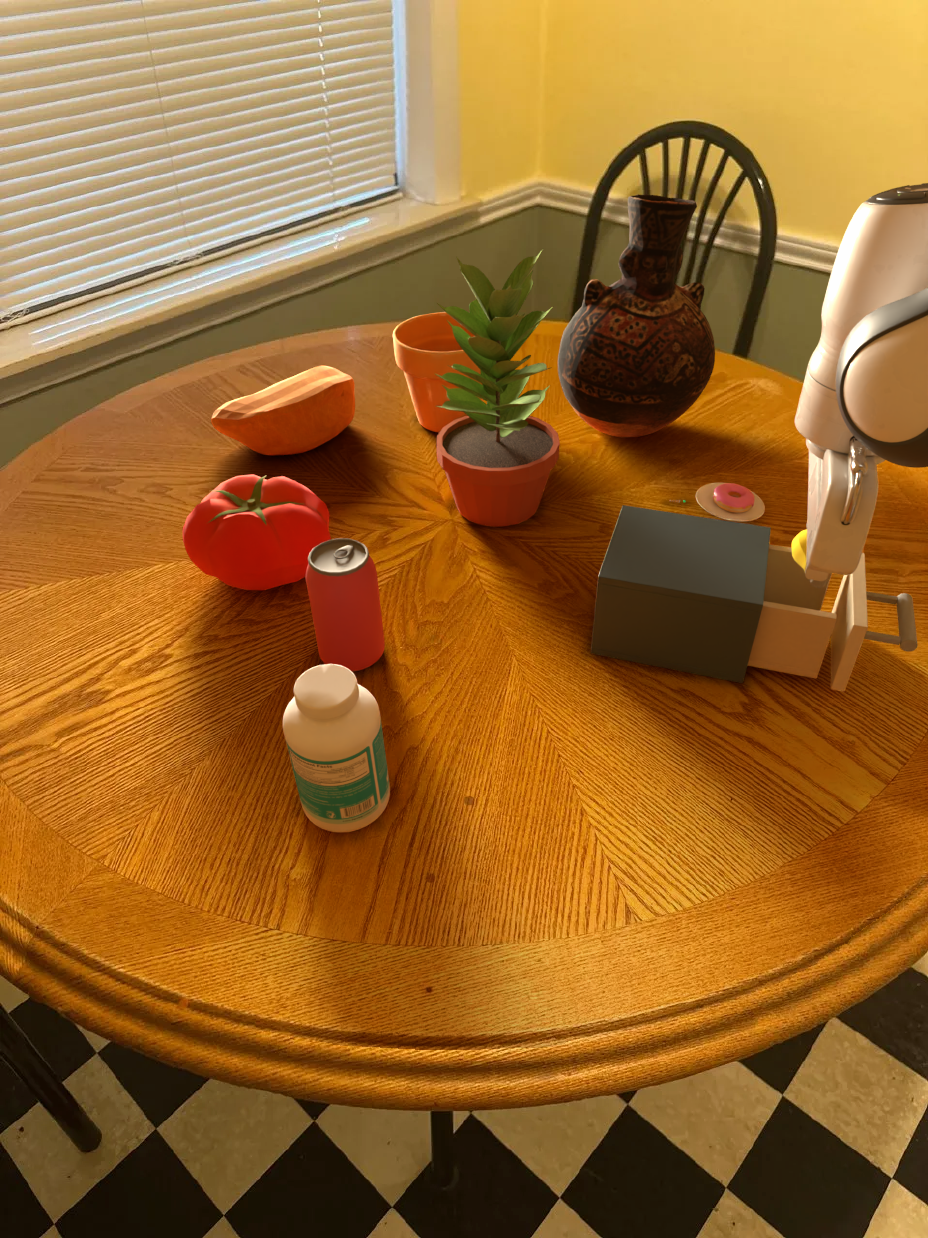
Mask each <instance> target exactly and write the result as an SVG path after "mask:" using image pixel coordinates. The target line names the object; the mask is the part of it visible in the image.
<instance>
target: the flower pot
mask: <svg viewBox="0 0 928 1238" xmlns="http://www.w3.org/2000/svg"><path fill="white" fill-rule="evenodd" d="M447 320H448V321H449V322H450V323H451V324H452V325H453V326H458V327H460V328H462V329H463V330H464V331H465V332H466V333H468V334H469V335H470V336H471V337H474V336H475V335H473V334H472V333H471V332H470V331H468V330H467V329H466V328H465V327H463V326H462V325H461V324H460V323H458V322H457V321H456V320H455V319H453V318H452V317H451V316H450V315H448V314H447V313H446V312H445V311H442V312H432V313H425V314H420V315H416V316H413V317H410V318H408V319H406V320H404V321H402V322H400V323H399V324H398V325H397V326H396V327H395V328H394V330H393V332H392V342H393V351H394V359H395V363H396V365H397V367H398V368H399V369H400V370H401V371H403V374H404V377H405V380H406V384H407V388H408V391H409V395H410V398H411V402H412V405H413V407H414V411H415V414H416V417H417V420H418V423H419V424H420V425H421V426H422V427H423V428H424V429H426V430H428V431H431V432H435V433H438V434H439V433H440V431H441V430H442V428H443V427H445V426H446V425H448V424H449V423H451V422H452V421H454V420H456V419H459V418H461V417H464V416H467V415H466V414H465V413H464V412H461V411H454V410H448V409H445V408H440V407H435V406H442V405H443V403H444V402H446V401H450V400H449V398H448V397H447V391H446V389H445V388H444V387H443V386H442V385H444V386H445V387H447V388H449V389H452V388H459V387H457V386H455V385H453V384H451V383H449V382H447V381H445V380H444V379H442V378H440V377H439V376H437V375H440V376H442V375H444V374H446V373H450V372H452V373H457V374H460V375H464V376H466V377H468V378H470V379H472V380H475V379H473V378H471V377H469V376H467V375H465V374H463V373H461V372H459V371H457V370H455V369H453V368H451V367H452V365H453V364H460V365H463V366H465V367H468V368H470V369H472V370H474V371H476V372H478V373H479V374H481V373H480V369H479V368H478V367H477V366H476V365H475V364H474V362H473V361H472V360H471V359H470V358H469V357H468V355H467V354H466V353H465V352H464V351H463V349H462V348H461V347H460V345H459V344H458V343H457V341H456V339H455V337H454V334H453V330H452V327H451V326H450V324H449V323H448V322H447ZM447 365H449V366H451V367H449V366H447ZM434 373H435V374H437V375H435V374H434ZM475 381H476V380H475ZM476 382H478V381H476ZM478 383H480V382H478ZM480 384H482V383H480ZM478 398H479V397H478ZM479 399H481V398H479ZM481 400H482V401H483V402H484V400H483V399H481Z"/></svg>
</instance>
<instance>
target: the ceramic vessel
mask: <svg viewBox="0 0 928 1238" xmlns="http://www.w3.org/2000/svg"><path fill="white" fill-rule="evenodd" d="M697 207H698V204H697V201H695V200H692V199H685V198H684V199H683V198H678V197H668V196H662V195H658V194H648V193H647V194H646V193H645V194H644V193H643V194H639V193H638V194H635V195H629V196H628V197H627V213H628V221H629V222H628V223H629V235H628V237H629V238H628V239H629V240H628V244H627V246H626V247H625V248H624V250H623V251H622V252H621V254H620V256H619V259H618V269H619V270H620V273H621V277H620V279H618V280H617V281H615V282H613V283H612V284H610V285H606V284H604V283H603V282H602V281H601V280H600V279H596V278H592V279H590V280H589V281H588V282H587V284H586V286H585V288H584V292H583V300H582V304H581V307H580V308H579V309H578V310H577V311H576V312H575V313H574V315H573V316H572V318H571V319H570V321H569V322H568V323H567V325H566V327H565V328H564V330H563V331H562V335H561V339H560V343H559V350H558V355H557V375H558V379H559V383H560V387H561V390H562V393H563V395H564V398H565V399H566V400H567V402H568V403H569V405H570V406H571V408H572V409H573V411H574V412H575V413H576V414H577V416H578V417H579V418H580V419H581V420H582V421H583V422H584V423H586V424H587V425H588V426H589V427H590V428H593V429H594V430H596V431H597V432H600V433H602V434H605V435H609V436H612V437H616V438H639V437H645V436H647V435H651V434H654V433H656V432H658V431H660V430H662V429H664V428H665V427H667V426H669V425H670V424H672V423H673V422H676V420H677V419H679V418H680V417H681V416H683V415H684V414H685V413H686V412H687V411H688V410H689V409H690V408H691V407H692V406H693V405H694V404H695V403H696V402H697V400H698V399H699V398H700V397H701V395H702V393H703V391H704V390H705V388H706V387H707V385H708V383H709V382H710V380H711V377H712V375H713V371H714V367H715V362H716V348H715V339H714V335H713V331H712V328H711V325H710V322H709V321H708V319H707V316H706V315H705V314H704V313H703V310H702V304H703V299H704V296H705V286H704V284H702V283H701V282H697V281H696V282H695V281H694V282H692V283H688V284H686V285H684V286H680V285H678V284H677V283H676V282H675V278H676V276H677V275H678V274H679V272H680V270H681V268H682V265H683V260H684V251H683V249H682V247H681V244H682V242H683V239H684V237H685V233H686V231H687V228H688V226H689V224H690V221H691V220H692V217H693V215H694V214H695V212H696V210H697Z"/></svg>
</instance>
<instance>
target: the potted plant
mask: <svg viewBox="0 0 928 1238" xmlns="http://www.w3.org/2000/svg"><path fill="white" fill-rule="evenodd" d="M543 250H544V248H542V249H541V250H540V251H539V253H538V254H537V256H536V255H535V256H527V257H525V258H523V259H522V260H521V261H520V262H519V263H517V265H516V266H515V268H514V269H513V270H512V272H511V273H510V275H509V276H508V278H507V279H506V281H505V282H504V285H503V286H502V288H501V289H495V287H494V286H493V284H492V282H491V280H490V279H489V278H488V277H487V276H486V274H485V273H484V271H483V272H482V270H481V269H480V268H478V266H477V267H476V266H475V265H473V264H472V265H471V264H465V263H462V261H461V260H460V259H459V257H458V256H456V258H455V259H456V260H457V262H458V265H459V271H460V272H461V274H462V276H463V278H464V280H465V281H466V283H467V285H468V287H469V289H470V290H471V291H472V294H473V295H474V297H475V299H474V300H473V301H471V302H470V303H469V305H468V310H469V311H467V310H465V309H464V308H461V307H459V306H456V305H451V306H445V307H444V306H443V305H441V304H440V303H438V302H436V305H438V306H439V307H440V308H441V309H442V310H443V312H446V313H447V314H448V315H450V316H451V317H452V318H453V319H455V320H456V321H457V322H458V323H460V324H461V325H462V326H463V327H465V328H466V329H467V330H468V331H470V332H471V333H472V334H473V335H475V336H474V337H471V336H470V335H469V334H468V333H466V332H465V331H464V330H463V329H462V328H460V327H458V326H453V325H452V324H451V323H450V322H449V321H448V320H447V322H448V323H449V324H450V326H451V327H452V330H453V334H454V337H455V339H456V341H457V343H458V344H459V345H460V347H461V348H462V349H463V351H464V352H465V353H466V354H467V355H468V357H469V358H470V359H471V360H472V361H473V362H474V364H475V365H476V366H477V367H478V368H479V369H480V373H481V374H479V373H478V372H476V371H474V370H472V369H470V368H468V367H465V366H463V365H460V364H453V365H452V367H451V366H449V365H447V366H449V367H451V368H453V369H455V370H457V371H459V372H461V373H463V374H465V375H467V376H469V377H471V378H473V379H475V380H476V381H478V382H480V383H482V384H480V383H478V382H476V381H475V380H472V379H470V378H468V377H466V376H464V375H460V374H457V373H452V372H450V373H446V374H444V375H442V376H440V375H437V374H435V373H434V374H435V375H437V376H439V377H440V378H442V379H444V380H445V381H447V382H449V383H451V384H453V385H455V386H457V387H459V388H452V389H449V388H447V387H445V386H444V385H442V386H443V387H444V388H445V389H446V391H447V397H448V398H449V400H450V401H446V402H444V403H443V405H442V406H435V407H440V408H445V409H448V410H454V411H461V412H464V413H465V414H466V415H467V416H464V417H461V418H459V419H456V420H454V421H452V422H451V423H449V424H448V425H446V426H445V427H443V428H442V430H441V431H440V433H439V432H438V434H437V435H436V461H437V463H438V464H439V466H440V468H441V469H442V470H443V471H444V474H445V477H446V479H447V482H448V485H449V488H450V492H451V495H452V497H453V500H454V503H455V507H456V509H457V511H458V513H459V515H461V516H462V517H463V518H464V519H466V520H467V521H468V522H471V523H474V524H477V525H479V526H486V527H492V528H496V527H498V528H499V527H501V528H502V527H509V526H514V525H519V524H521V523H524V522H526V521H528V520H529V519H530V518H532V517H533V516H534V515H535V514H536V513H537V510H538V509H539V506H540V503H541V501H542V498H543V494H544V491H545V489H546V485H547V483H548V479H549V477H550V474H551V471H552V470H553V469H554V468H555V467H556V465H557V462H558V461H559V458H560V445H561V444H560V443H561V442H560V437H559V433H558V431H556V429H555V428H554V427H553V426H552V425H551V424H550V423H548V422H546V421H545V420H542V419H541V418H539V417H535V416H533V415H532V414H533V413H534V412H535V411H536V410H537V409H538V408H539V406H540V405H541V404H542V403H544V400H546V399H545V398H546V392H547V390H548V389H549V388H550V386H551V385H548V386H546V387H545V388H544V389H530V390H527V391H526V392H524V393H523V391H524V389H525V388H526V386H527V385H528V382H529V380H530V378H531V376H534V375H536V374H539V373H542V372H545V371H547V370H550V369H552V368H553V367H548V366H547V364H546V363H545V362H538V363H534V364H530V365H529V363H527V364H526V365H525V366H524V367H522V368H520V366H522V365H524V364H525V362H527V361H528V360H529V359H530V358H531V357H532V355H531V354H528V355H526V356H525V357H523V358H522V359H521V360H512V359H513V358H514V356H515V355H517V352H518V351H519V350H520V349H521V348H522V346H524V344H525V343H526V341H528V339H529V337H530V336H531V335H532V334H533V333H534V331H535V330H536V329H537V327H539V326H540V323H541V322H542V321H543V320H545V318H546V316H547V315H548V314H549V313H550V312H551V310H552V309H553V308H554V306H553V305H552V306H551V307H550V308H549V309H548V310H546V311H545V310H533V311H531V312H528V313H527V314H526V313H523V314H521V315H518V313H519V312H520V310H521V308H522V307H523V305H524V303H525V301H526V300H527V298H528V296H529V294H530V293H531V290H532V289H533V287H534V284H535V283H534V281H533V279H532V276H533V273H534V270H533V268H534V266H535V264H537V261H538V260H539V258H540V256H541V254H542V252H543ZM525 314H526V315H525ZM518 368H520V369H518ZM478 397H479V398H481V399H483V401H482V400H481V399H479V398H478ZM484 401H485V402H484Z"/></svg>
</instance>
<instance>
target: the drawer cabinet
mask: <svg viewBox="0 0 928 1238" xmlns="http://www.w3.org/2000/svg"><path fill="white" fill-rule="evenodd" d="M771 531H772V528H771V527H770V526H763V525H757V524H750V523H745V522H737V521H729V520H725V519H717V518H712V517H711V518H710V517H704V516H698V515H692V514H691V515H690V514H685V513H679V512H678V513H677V512H671V511H664V510H659V509H653V508H652V509H651V508H645V507H639V506H631V505H624V504H622V506H621V509H620V511H619V514H618V517H617V521H616V523H615V526H614V529H613V532H612V535H611V538H610V539H609V540H610V541H609V543H608V547H607V548H606V552H605V555H604V558H603V561H602V564H601V566H600V570H599V573H598V575H597V582H596V583H597V584H596V594H595V604H594V615H593V625H592V635H591V645H590V646H591V647H590V654H592V655H597V656H602V657H607V658H612V659H617V660H622V661H627V662H632V663H637V664H642V665H648V666H652V667H658V668H663V669H668V670H673V671H678V672H683V673H688V674H692V675H698V676H703V677H708V678H714V679H718V680H724V681H727V682H728V681H729V682H734V683H739V684H744V680H745V676H746V673H747V669H748V667H749V666H748V662H749V658H750V654H751V650H752V646H753V642H754V639H755V635H756V631H757V627H758V623H759V619H760V615H761V611H762V608H763V602H764V592H765V582H766V572H767V562H768V552H769V544H770V543H771Z"/></svg>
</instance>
